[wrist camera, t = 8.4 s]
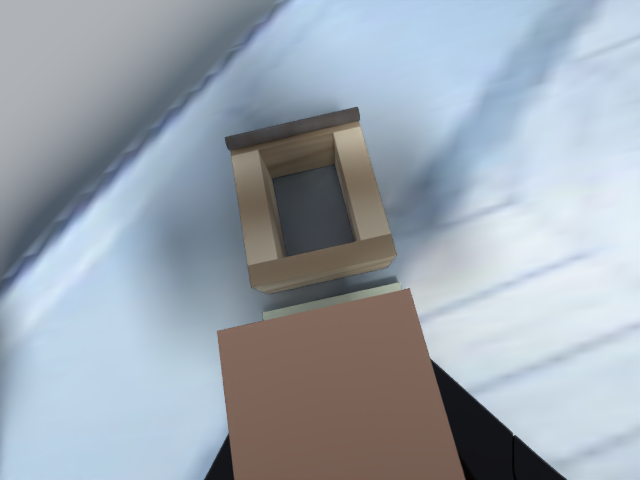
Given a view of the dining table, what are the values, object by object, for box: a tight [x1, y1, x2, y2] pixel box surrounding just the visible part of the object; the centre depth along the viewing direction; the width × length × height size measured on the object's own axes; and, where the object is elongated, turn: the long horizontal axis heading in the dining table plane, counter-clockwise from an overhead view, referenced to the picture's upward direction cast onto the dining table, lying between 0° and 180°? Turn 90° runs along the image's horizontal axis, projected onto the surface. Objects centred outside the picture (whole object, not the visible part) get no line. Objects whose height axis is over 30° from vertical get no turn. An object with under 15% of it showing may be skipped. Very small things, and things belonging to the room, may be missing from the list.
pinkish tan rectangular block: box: [217, 288, 465, 480], centre depth 9 cm, size 5×3×11 cm, turn 12°
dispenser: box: [225, 107, 397, 294], centre depth 18 cm, size 8×7×4 cm
